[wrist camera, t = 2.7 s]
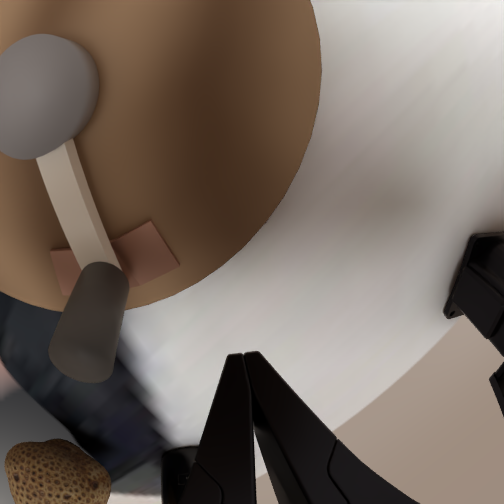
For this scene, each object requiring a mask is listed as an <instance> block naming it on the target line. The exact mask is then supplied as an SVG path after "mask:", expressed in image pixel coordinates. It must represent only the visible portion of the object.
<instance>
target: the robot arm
mask: <svg viewBox="0 0 504 504" xmlns="http://www.w3.org/2000/svg"><path fill="white" fill-rule="evenodd" d="M444 315H445V316H446V318H447V319H451V318H455V317H458V316H461V315H465V316H466V317H467V318H468V319H469V320H470V321H471V323H473V325H474V326H475V327H476V328H477V329H478V331H479V332H480V333H481V334H482V335H483V336H484V338H486V339H489V340H490V342H491V343H492V344H493V345H494V346H495V347H496V349H497V350H498V351H499V352H500V354H501V355H502V356H503V357H504V232H495V233H484V234H476V235H474V236H473V237H472V238H471V239H470V242H469V245H468V248H467V251H466V254H465V258H464V261H463V264H462V266H461V269H460V272H459V275H458V278H457V281H456V283H455V286H454V289H453V291H452V294H451V296H450V299H449V302H448V304H447V306H446V309H445V311H444ZM489 381H490V383H491V386H492V388H493V391H494V393H495V395H496V398H497V401H498V403H499V405H500V408H501V411H502V414H503V416H504V362H503V363H502V365H501V366H500V367H499V369H498V370H497V371H496V372H494V373H493V374H492V376H491V377H490V378H489ZM253 428H254V429H253ZM254 432H255V435H256V438H257V441H258V444H259V447H260V451H261V454H262V457H263V460H264V463H265V465H266V468H267V471H268V474H269V477H270V480H271V483H272V486H273V489H274V492H275V494H276V497H277V500H278V503H279V504H420V503H418V502H416V501H414V500H413V499H411V498H410V497H408V496H407V495H405V494H404V493H403V492H401V491H400V490H398V489H397V488H396V487H394V486H393V485H391V484H390V483H388V482H387V481H386V480H384V479H383V478H382V477H380V476H379V475H378V474H376V473H375V472H374V471H373V470H371V469H370V468H369V467H368V466H366V465H365V464H364V463H363V462H361V461H360V460H359V459H358V458H357V457H356V456H355V455H354V454H353V453H352V452H351V451H350V450H349V449H348V448H347V447H346V446H345V445H344V444H343V443H342V442H341V441H340V440H339V439H337V437H336V436H335V435H334V434H333V433H332V432H331V431H330V430H329V428H328V427H327V426H326V425H325V424H324V423H323V422H322V421H321V420H320V419H319V418H318V417H317V416H316V415H315V414H314V412H313V411H312V410H311V409H310V408H309V407H308V406H307V405H306V404H305V403H304V402H303V400H302V399H301V398H300V397H299V396H298V395H297V394H296V393H295V392H294V390H293V389H292V388H291V387H290V386H289V385H288V384H287V383H286V382H285V380H284V379H283V378H282V377H281V376H280V375H279V374H278V372H277V371H276V370H275V369H274V368H273V367H272V366H271V364H270V363H269V362H268V361H267V360H266V359H265V358H264V356H263V355H262V354H261V353H260V352H259V351H252V352H245V353H244V354H242V353H235V354H229V355H228V356H227V358H226V361H225V364H224V367H223V370H222V374H221V377H220V380H219V383H218V386H217V390H216V393H215V396H214V399H213V402H212V406H211V409H210V412H209V415H208V418H207V421H206V425H205V428H204V431H203V434H202V437H201V440H200V444H199V447H198V450H197V453H196V456H195V459H194V460H195V462H194V463H193V465H192V468H191V471H190V474H189V477H188V480H187V483H186V485H185V488H184V491H183V493H182V496H181V498H180V500H179V502H178V504H257V500H256V477H255V454H254ZM336 439H337V440H336Z"/></svg>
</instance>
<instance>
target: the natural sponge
mask: <svg viewBox="0 0 504 504" xmlns="http://www.w3.org/2000/svg"><path fill="white" fill-rule="evenodd" d="M5 471H6V474H7V477H8V482H9V487H10V491H11V494H12V496H13V499H14V501H15V504H107V502H108V499H109V496H110V492H111V480H110V476H109V474H108V472H107V471H106V469H105V468H104V467H103V466H102V465H101V464H100V463H98V462H97V461H96V460H94V459H93V458H91V457H90V456H89V455H87V454H86V453H84V452H83V451H82V450H81V449H80V448H79V447H78V446H76V445H74V444H73V443H71V442H69V441H67V440H63V439H52V440H48V441H46V442H23V443H19V444H16V445H15V446H14V447H12V449H10V450H9V452H8V453H7V456H6V459H5Z"/></svg>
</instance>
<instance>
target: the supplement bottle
mask: <svg viewBox="0 0 504 504" xmlns="http://www.w3.org/2000/svg"><path fill="white" fill-rule="evenodd" d="M197 450H198V447H188V448H181V449H176V450H173V451H170V452H169V453H167V454H166V455H165V456H164V457H163V458H162V460H161V498H162V504H178V502H179V500H180V498H181V496H182V493H183V491H184V488H185V485H186V483H187V480H188V477H189V474H190V471H191V468H192V465H193V463H194V462H195V460H194V459H195V456H196V453H197Z"/></svg>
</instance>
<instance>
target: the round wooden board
mask: <svg viewBox="0 0 504 504" xmlns="http://www.w3.org/2000/svg"><path fill="white" fill-rule="evenodd" d="M35 34H50V35H54V36H58V37H61V38H64V39H68V40H71V41H74V42H76V43H78V44H80V45H81V46H83V47H84V48H85V49H86V50H87V51H88V52H89V53H90V55H91V56H92V58H93V59H94V62H95V64H96V67H97V70H98V75H99V95H98V100H97V104H96V107H95V110H94V112H93V114H92V116H91V118H90V120H89V122H88V123H87V125H86V126H85V127H84V129H83V130H82V131H81V132H80V133H79V134H78V135H77V136H76V137H75V138H73V141H74V144H75V147H76V150H77V154H78V157H79V160H80V163H81V166H82V169H83V172H84V175H85V178H86V181H87V184H88V187H89V189H90V192H91V195H92V198H93V201H94V203H95V206H96V209H97V211H98V214H99V216H100V219H101V222H102V224H103V227H104V229H105V232H106V234H107V237H108V239H109V241H110V244H111V246H112V249H113V251H114V253H115V256H116V258H117V260H118V262H119V265H120V267H121V269H122V271H123V273H124V274H125V275H126V277H127V279H128V281H129V287H130V288H129V294H128V298H127V303H126V307H125V310H128V309H132V308H137V307H141V306H145V305H149V304H151V303H154V302H157V301H159V300H162V299H165V298H167V297H170V296H173V295H175V294H177V293H179V292H180V291H182V290H184V289H186V288H188V287H190V286H192V285H194V284H196V283H198V282H199V281H201V280H202V279H204V278H205V277H207V276H208V275H209V274H211V273H212V272H214V271H215V270H217V269H218V268H220V267H221V266H222V265H224V264H225V263H226V262H227V261H228V260H229V259H230V258H232V257H233V256H234V255H235V254H236V253H237V252H238V251H240V250H241V249H242V248H243V247H244V246H245V245H246V244H247V243H248V242H249V241H250V240H251V238H252V237H253V236H254V235H255V234H256V233H257V232H258V231H259V229H260V228H261V227H262V226H263V225H264V224H265V223H266V221H267V220H268V219H269V217H270V216H271V214H272V213H273V211H274V210H275V209H276V207H277V206H278V204H279V203H280V201H281V200H282V199H283V197H284V196H285V194H286V192H287V190H288V188H289V186H290V184H291V182H292V180H293V179H294V177H295V175H296V173H297V171H298V169H299V167H300V165H301V162H302V159H303V157H304V154H305V151H306V149H307V146H308V143H309V141H310V138H311V135H312V131H313V127H314V122H315V118H316V114H317V109H318V105H319V96H320V85H321V73H322V68H321V51H320V38H319V33H318V28H317V24H316V19H315V15H314V11H313V7H312V4H311V2H310V0H0V56H1V54H2V53H3V52H4V51H5V50H6V49H7V48H9V47H10V46H11V45H12V44H14V43H15V42H17V41H19V40H21V39H23V38H25V37H28V36H30V35H35ZM81 271H82V270H81V268H80V266H79V264H78V262H77V259H76V257H75V255H74V253H73V251H72V249H71V247H70V245H69V242H68V240H67V238H66V236H65V233H64V231H63V229H62V226H61V224H60V222H59V219H58V217H57V214H56V212H55V210H54V207H53V205H52V202H51V199H50V197H49V194H48V192H47V189H46V186H45V183H44V181H43V178H42V175H41V172H40V169H39V166H38V163H37V160H36V158H34V159H27V160H22V159H16V158H12V157H10V156H8V155H6V154H4V153H3V152H1V151H0V291H2V292H4V293H5V294H7V295H9V296H11V297H14V298H16V299H18V300H21V301H23V302H26V303H28V304H31V305H35V306H39V307H42V308H46V309H50V310H55V311H62V312H63V311H64V308H65V306H66V304H67V301H68V299H69V297H70V295H71V293H72V290H73V288H74V286H75V284H76V282H77V280H78V278H79V276H80V273H81Z"/></svg>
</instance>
